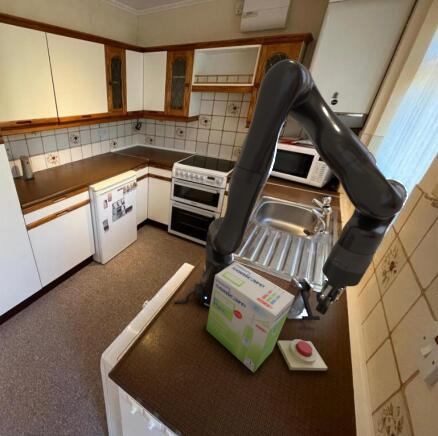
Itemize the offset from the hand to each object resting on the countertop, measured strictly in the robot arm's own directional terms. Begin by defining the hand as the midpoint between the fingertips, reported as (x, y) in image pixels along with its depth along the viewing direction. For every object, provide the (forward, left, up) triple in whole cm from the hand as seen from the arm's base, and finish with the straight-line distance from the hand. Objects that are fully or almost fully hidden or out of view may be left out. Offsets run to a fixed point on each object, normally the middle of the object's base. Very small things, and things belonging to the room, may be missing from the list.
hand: (320, 311), depth 65 cm
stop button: (-2, -3, -13) cm, 13 cm away
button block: (-2, -3, -16) cm, 17 cm away
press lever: (+5, +12, -9) cm, 15 cm away
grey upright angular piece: (+5, +15, -16) cm, 23 cm away
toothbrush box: (-19, +2, -17) cm, 26 cm away
